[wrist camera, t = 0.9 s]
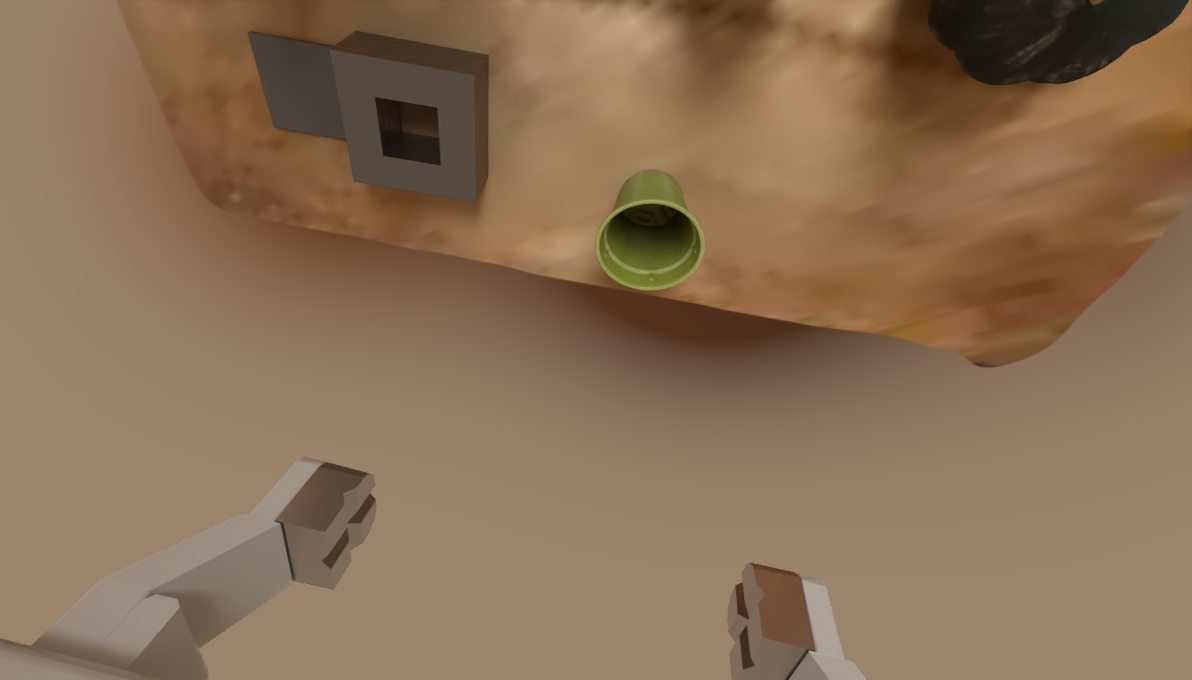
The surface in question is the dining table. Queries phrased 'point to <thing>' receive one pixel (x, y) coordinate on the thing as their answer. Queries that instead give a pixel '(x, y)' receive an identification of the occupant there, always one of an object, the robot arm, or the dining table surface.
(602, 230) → the plant pot
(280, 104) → the mat
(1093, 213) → the dining table surface
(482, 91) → the grey square block
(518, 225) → the dining table surface
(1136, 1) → the squash
